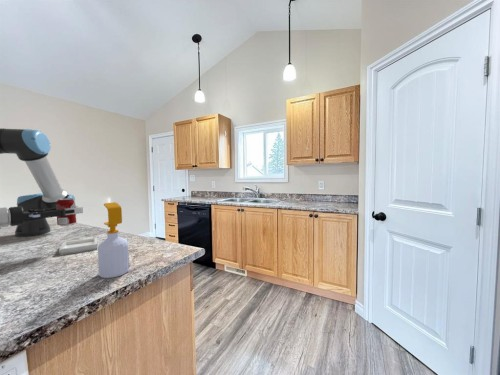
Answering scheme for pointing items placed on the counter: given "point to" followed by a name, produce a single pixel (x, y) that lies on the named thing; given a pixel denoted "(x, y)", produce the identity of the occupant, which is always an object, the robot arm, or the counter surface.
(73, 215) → the soda can
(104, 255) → the soap bottle
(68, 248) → the square tray
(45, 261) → the counter surface
